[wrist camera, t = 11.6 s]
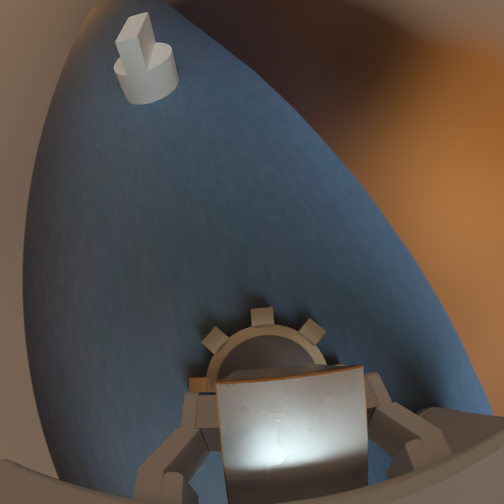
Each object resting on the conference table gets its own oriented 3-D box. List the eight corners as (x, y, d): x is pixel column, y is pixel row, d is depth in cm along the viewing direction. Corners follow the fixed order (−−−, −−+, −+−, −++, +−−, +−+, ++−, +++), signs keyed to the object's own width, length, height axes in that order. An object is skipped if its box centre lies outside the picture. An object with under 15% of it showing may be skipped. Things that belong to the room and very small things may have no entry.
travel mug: (388, 431, 24) (534, 486, 5) (436, 395, 24) (588, 398, 6) (407, 471, 22) (533, 536, 3) (451, 435, 23) (587, 459, 4)
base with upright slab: (130, 76, 41) (110, 22, 30) (180, 66, 41) (168, 7, 30) (120, 109, 38) (93, 49, 27) (176, 98, 38) (160, 31, 27)
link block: (316, 433, 14) (369, 490, 6) (240, 441, 13) (228, 510, 6) (311, 362, 15) (364, 365, 7) (234, 369, 15) (214, 382, 7)
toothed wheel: (344, 439, 24) (350, 444, 22) (199, 453, 23) (196, 459, 22) (332, 303, 28) (337, 299, 27) (188, 315, 28) (184, 312, 26)
